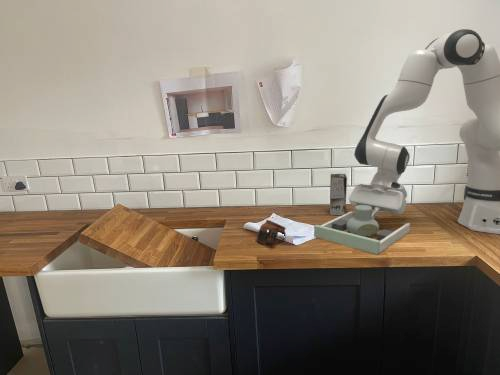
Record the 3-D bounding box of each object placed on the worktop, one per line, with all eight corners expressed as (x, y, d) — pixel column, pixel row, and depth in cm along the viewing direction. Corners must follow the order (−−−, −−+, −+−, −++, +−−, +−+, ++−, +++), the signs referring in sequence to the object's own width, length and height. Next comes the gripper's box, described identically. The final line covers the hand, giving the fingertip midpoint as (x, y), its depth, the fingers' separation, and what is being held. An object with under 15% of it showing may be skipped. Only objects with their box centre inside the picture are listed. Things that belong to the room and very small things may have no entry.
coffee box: (345, 215, 143) (347, 177, 139) (329, 215, 144) (330, 177, 140) (344, 209, 151) (345, 173, 148) (329, 208, 153) (330, 173, 149)
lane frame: (409, 231, 123) (410, 220, 122) (377, 254, 105) (377, 242, 104) (350, 218, 139) (351, 208, 138) (314, 236, 121) (314, 225, 120)
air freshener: (351, 239, 118) (353, 211, 115) (343, 231, 126) (343, 204, 123) (382, 237, 119) (384, 209, 116) (371, 229, 127) (373, 203, 124)
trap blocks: (395, 238, 117) (395, 231, 116) (387, 243, 113) (388, 236, 112) (340, 225, 131) (340, 219, 131) (331, 229, 127) (332, 223, 127)
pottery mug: (253, 238, 122) (262, 217, 123) (276, 249, 123) (286, 227, 124) (257, 242, 110) (267, 219, 111) (284, 254, 111) (294, 230, 112)
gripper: (354, 178, 134) (340, 208, 130) (407, 186, 120) (394, 219, 116) (359, 187, 139) (345, 216, 134) (411, 196, 124) (398, 228, 120)
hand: (368, 218), depth 125 cm, fingers closed, pressing on air freshener
